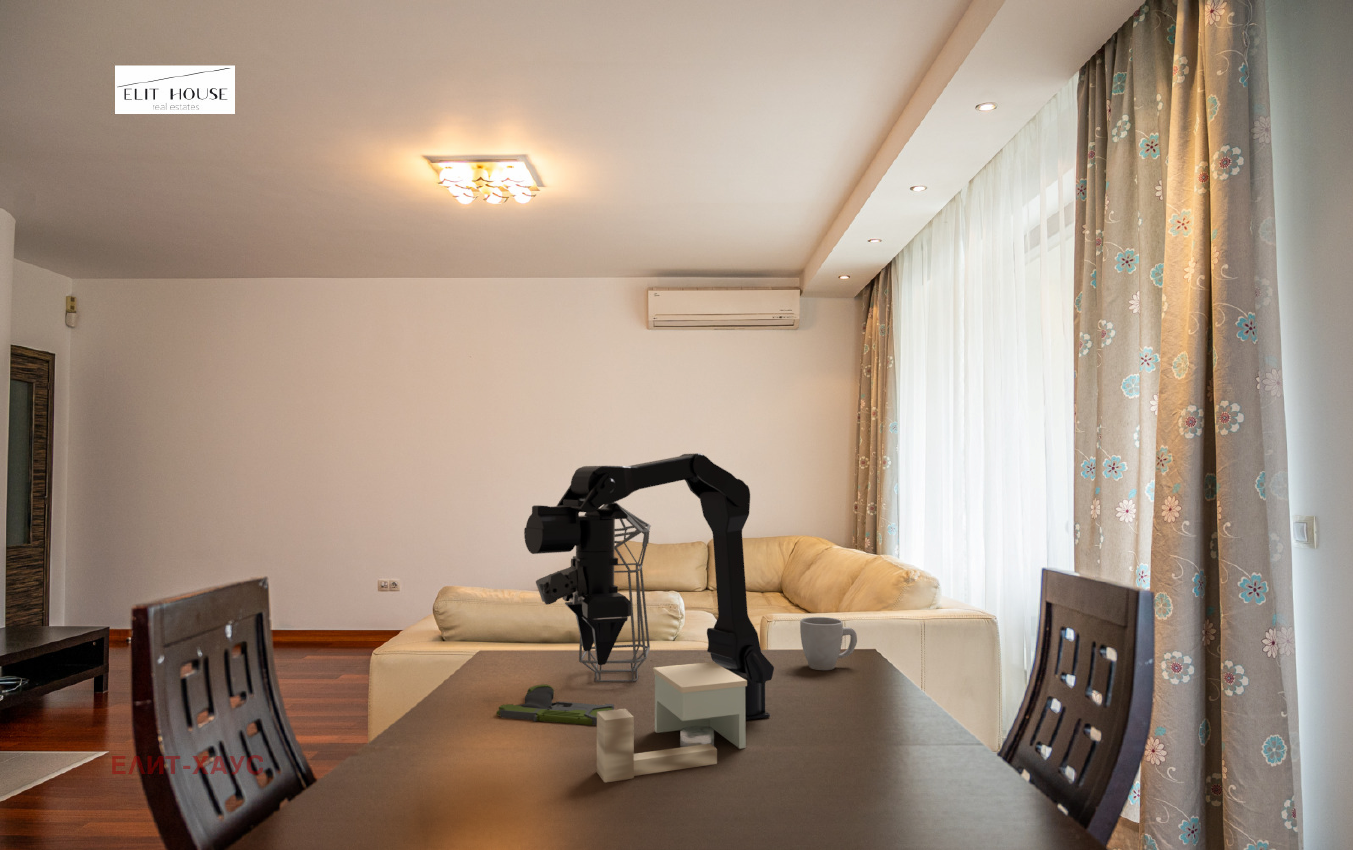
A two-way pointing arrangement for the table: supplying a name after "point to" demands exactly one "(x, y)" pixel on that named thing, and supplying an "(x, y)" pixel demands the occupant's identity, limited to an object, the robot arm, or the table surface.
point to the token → (696, 736)
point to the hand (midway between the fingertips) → (594, 657)
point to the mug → (824, 641)
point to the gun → (552, 708)
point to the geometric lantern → (639, 527)
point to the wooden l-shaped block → (624, 764)
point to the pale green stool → (700, 699)
